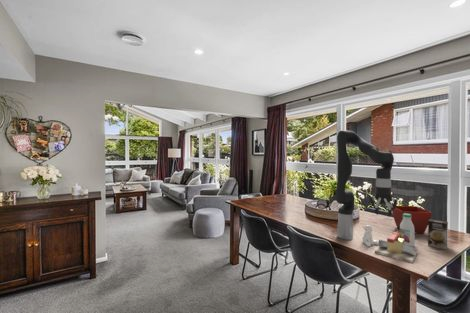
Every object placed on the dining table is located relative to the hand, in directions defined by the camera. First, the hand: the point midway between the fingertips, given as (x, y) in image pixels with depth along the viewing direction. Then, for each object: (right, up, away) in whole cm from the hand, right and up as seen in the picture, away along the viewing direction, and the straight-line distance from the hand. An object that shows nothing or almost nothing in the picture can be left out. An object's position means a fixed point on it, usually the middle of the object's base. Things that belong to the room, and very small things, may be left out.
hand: (383, 215), depth 134 cm
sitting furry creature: (+2, -24, +17) cm, 29 cm away
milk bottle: (+25, -23, +15) cm, 37 cm away
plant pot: (+48, -23, +43) cm, 68 cm away
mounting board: (+9, -23, +2) cm, 25 cm away
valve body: (+9, -22, +2) cm, 24 cm away
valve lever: (+5, -15, -1) cm, 16 cm away
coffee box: (+42, -23, +12) cm, 50 cm away
